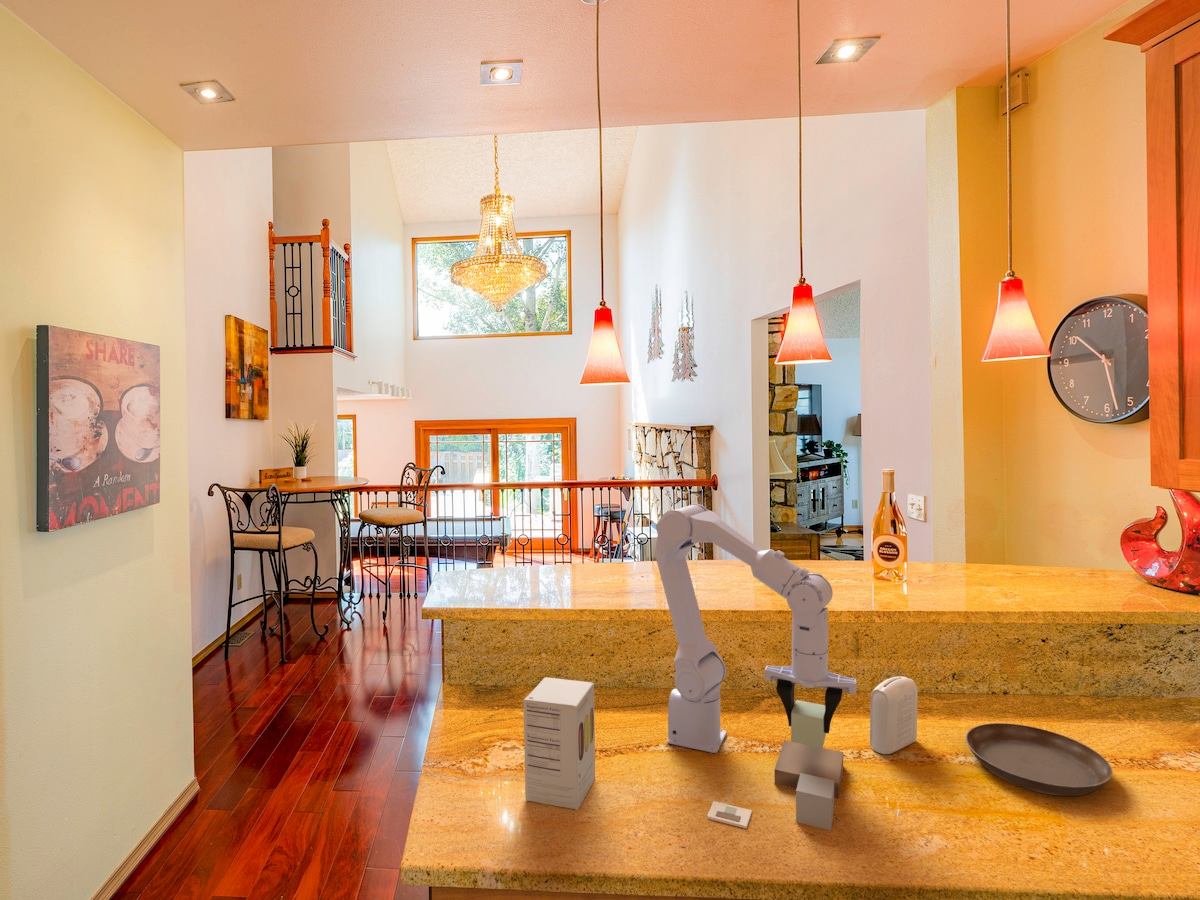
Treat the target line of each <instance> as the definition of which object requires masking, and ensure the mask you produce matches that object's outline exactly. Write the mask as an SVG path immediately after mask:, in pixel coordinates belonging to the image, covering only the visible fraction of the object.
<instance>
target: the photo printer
mask: <svg viewBox="0 0 1200 900" xmlns="http://www.w3.org/2000/svg"><path fill="white" fill-rule="evenodd" d="M918 691H919V690H918V686H917V683H916V682H915V681H914V680H913V679H912V678H910V677H909V678H908V677H907V676H902V675H900V676H894V677H890V678H887V679H885V680H883V681H882V682H880V683H879V684H878V685H877V686H876V687H875V688H874V689H873V690H872V691H871V695H870V713H869V714H870V715H869V716H870V717H869V718H870V719H869V745H870V747H871V748H872V750H873V751H875V752H876V753H878V754H881V755H890V754H893V753H896V752H897V751H899V750H902V749H904V748H905V747H907V746H909V745H911V744H913V743H915V741H916V740H917V737H918V736H917V735H918V734H917V733H918V727H917V726H918V693H919V692H918Z"/></svg>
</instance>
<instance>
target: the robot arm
mask: <svg viewBox="0 0 1200 900" xmlns="http://www.w3.org/2000/svg"><path fill="white" fill-rule="evenodd" d="M655 530H656V532H657V533H656V534H657V536H656V537H657V538H656V543H655V544H656V545H655V550H654V554H655V560H656V564H657V568H658V571H659V575H660V576H659V577H660V579H661V582H662V586H663V591H664V593H665V597H666V602H667V605H668V610H669V613H670V618H671V621H672V625H673V626H672V627H673V629H674V632H675V633H674V634H675V638H676V640H677V644H678V647H677V651H676V653H675V657H674V658H673V664H674V668H675V673H674V685H675V688H673V689H672V690H671V691H670V695H669V699H668V705H667V735H668V736H667V737H668V738H667V739H666V742H667V743H668V744H671V745H673V746H674V745H675V746H680V747H685V748H688V749H694V750H699V751H704V752H708V753H712V754H717V753H718V752H719V750H720V748H721V745H722V744H723V741H724V739H725V738H726V736H727V731H726V730H724V729H721V682H723V681H724V680H725V678H726V675H727V666H726V664H725V663H726V662H724V660H723V658H722V657H721V656H720V654H719V652H718V650H717V646H716V644H715V643H714V642H712V641H711V640H709V639H708V637H707V635H706V631H705V626H704V624H703V623H704V622H703V620H702V619H703V618H702V615H701V611H700V607H699V604H698V600H697V595H696V592H695V589H694V584H693V582H692V577H691V574H690V570H689V569H690V568H689V566H688V562H687V555H688V554H689V552H691V549H692V548H693V546H694V545H695V544H703V543H712V544H714V545H715V546H717V547H719V548H721V549H722V550H724V551H725V552H728V553H729V554H730V555H732V556H734V557H735V558H737V559H738V560H740V561H742V562H743V563H744V564H747V565H748V566H749V567H750V570H751V572H752V576H753V578H755V579H756V580H758V581H759V582H761V583H762V584H764V585H765V586H767V587H768V588H770V589H771V590H772V591H774V592H775V593H776V594H778V595H780V596H781V597H782V598H784V599H786V603H787V605H788V608H789V609H790V610H791V612H792V621H791V666H787V665H786V666H784V665H783V666H782V665H781V666H779V665H778V666H776V665H765V668H764V681H766V682H771V681H776V687H775V688H776V693H777V694H778V697H779V698H780V700H781V702H782V705H783V707H784V710H785V713H786V714H785V715H786V717H787V721H788V726H789V727H791V712H792V710H793V707H794V704H795V688H796V687H795V686H796V685H800V687H803V688H807V689H813V688H820V689H821V688H822V689H826V690H825V695H824V705H825V725H824V733H826V734H830V728H831V723H832V719H833V717H834V714H835V711H836V710H837V708H838V706H839V705H840V702H841V701H842V696H843V692H846V693H848V694H849V695H853V696H854V695H857V694H856V693H857V679H856V678H852V677H848V676H844V675H840V674H837V673H834V672H830V671H829V669H828V668H829V667H828V665H829V664H828V663H829V622H828V620H829V619H828V618H829V617H828V615H829V614H828V612H829V611H828V610H829V609H828V607H827V606H828V605H829V603H830V602H831V601H832V598H833V593H834V591H833V588H832V585H831V583H830V582H829V580H827V578H825V577H824V576H823V575H822V574H820V573H816V572H810V571H809V570H808V569H807V568H805V567H802V568H801V567H800V566H798V565H797V564H795V563H794V562H792V561H791V560H789V558H786V557H785V553H784V552H783V551H781V550H779V549H778V550H777V551H776V550H774V549H773V548H772V549H764V550H763V549H761V548H759V547H758V546H756V545H755V544H754V543H752V541H750V540H749V539H747V538H746V537H745V536H743V535H742V534H741V533H739V532H738V531H737V530H735V529H734V528H732V526H730V525H729V524H728V523H726V522H725V521H723V520H722V519H721V518H720V517H719V516H718V514H717V513H716V512H715V511H712V510H710V509H708V508H706V507H705V506H704V505H702V504H701V503H691V504H689V505H686V506H683V507H680V508H677V509H670V510H668V511H666V512H665V513H663V514H662V515H661V517H660V518H659V520H658V522H657V523H656V524H655Z"/></svg>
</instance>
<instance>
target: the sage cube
mask: <svg viewBox="0 0 1200 900" xmlns="http://www.w3.org/2000/svg"><path fill="white" fill-rule="evenodd" d="M824 725H825V704H821V703H820V704H819V703H815V702H809V701H806V700H805V701H804V700H799V699H795V701H794V707H793V710H792V712H791V726H790V741H791V742H795V743H800V744H804V745H809V746H814V747H818V748H824V744H825V741H826V736H827V733H824Z"/></svg>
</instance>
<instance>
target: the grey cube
mask: <svg viewBox="0 0 1200 900" xmlns="http://www.w3.org/2000/svg"><path fill="white" fill-rule="evenodd" d="M834 810H835V798H834V780H830V779H826V778H821V777H817V776H812V775H807V774H803V773H800V777H799V781H798V785H797V789H795V822H796V823H798V824H799V823H800V824H804V825H806V826H807V825H808V826H810V827H816V828H820V829H823V830H828V831H832V828H833V827H832V825H833V819H834V812H835V811H834Z"/></svg>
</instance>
